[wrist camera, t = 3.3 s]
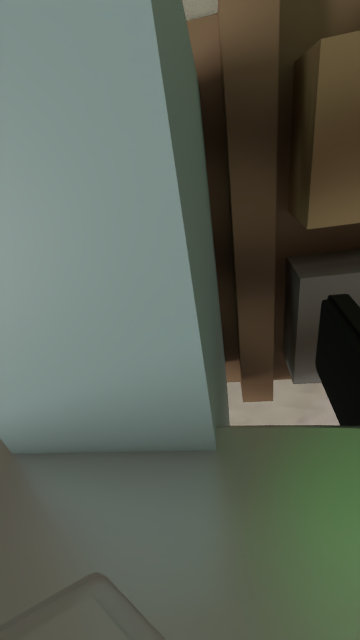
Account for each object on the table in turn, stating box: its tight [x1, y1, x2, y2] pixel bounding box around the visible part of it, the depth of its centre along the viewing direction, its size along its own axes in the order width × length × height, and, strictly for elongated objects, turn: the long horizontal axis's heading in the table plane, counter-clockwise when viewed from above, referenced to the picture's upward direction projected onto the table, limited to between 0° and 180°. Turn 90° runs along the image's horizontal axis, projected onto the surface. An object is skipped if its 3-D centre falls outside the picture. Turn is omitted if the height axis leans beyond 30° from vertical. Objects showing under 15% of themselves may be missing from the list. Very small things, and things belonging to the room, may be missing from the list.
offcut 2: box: [283, 248, 360, 384], centre depth 17 cm, size 7×4×3 cm, turn 9°
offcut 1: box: [288, 31, 360, 229], centre depth 12 cm, size 6×4×4 cm, turn 9°
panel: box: [0, 0, 230, 454], centre depth 11 cm, size 16×3×14 cm, turn 9°
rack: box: [186, 0, 360, 402], centre depth 16 cm, size 20×16×3 cm
